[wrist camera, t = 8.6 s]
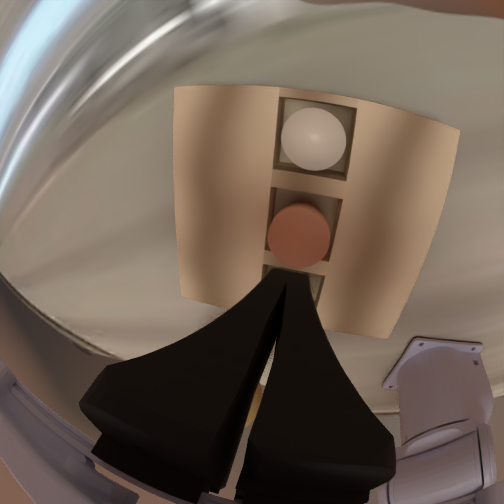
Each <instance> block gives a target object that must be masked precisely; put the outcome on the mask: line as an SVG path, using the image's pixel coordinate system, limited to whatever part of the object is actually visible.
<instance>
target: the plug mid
mask: <svg viewBox="0 0 504 504" xmlns="http://www.w3.org/2000/svg"><path fill="white" fill-rule="evenodd" d="M267 239H268V245H269V248H270V250H271V252H272V253H273V255H274V256H275V257H276V258H277V259H278V260H279V261H281V262H282V263H284V264H286V265H289V266H292V267H308V266H312V265H314V264H316V263H318V262H319V261H320V260H321V259H323V257H324V256H325V255H326V253H327V251H328V249H329V244H330V229H329V224H328V222H327V220H326V218H325V217H324V215H323V214H322V213H321V211H320V209H319V208H318V207H317V206H316V205H314V204H313V203H311V202H308V201H297V202H294V203H292V204H290V205H289V206H287V207H285V208H283V209H282V210H280V211H279V212H278V213H277V214H276V216H275V217H274V219H273V221H272V223H271V225H270V227H269V230H268V236H267Z"/></svg>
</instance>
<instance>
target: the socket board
mask: <svg viewBox="0 0 504 504" xmlns="http://www.w3.org/2000/svg"><path fill="white" fill-rule="evenodd" d="M305 108H319V109H323V110H325V111H327V112H329V113H331V114H332V115H334V116H335V117H336V118H337V119H338V120H339V121H340V123H341V124H342V126H343V128H344V131H345V135H346V147H345V150H344V153H343V155H342V157H341V158H340V159H339V161H338V162H337V163H335V164H334V165H333V166H331V167H329V168H327V169H324V170H318V171H313V170H307V169H304V168H301V167H299V166H297V165H296V164H294V163H293V162H292V161H291V160H290V159H289V158H288V156H287V155H286V153H285V152H284V149H283V147H282V142H281V133H282V129H283V126H284V124H285V122H286V121H287V119H288V118H289V117H290V116H291V115H292V114H294V113H295V112H297V111H299V110H302V109H305ZM459 134H460V130H457V129H455V128H452V127H450V126H447V125H445V124H442V123H439V122H437V121H434V120H431V119H428V118H425V117H422V116H419V115H416V114H413V113H410V112H407V111H403V110H400V109H396V108H393V107H389V106H385V105H382V104H378V103H373V102H369V101H365V100H360V99H356V98H351V97H346V96H340V95H335V94H329V93H323V92H316V91H309V90H301V89H292V88H281V87H269V86H250V85H199V86H181V87H175V90H174V121H173V170H174V202H175V221H176V237H177V251H178V263H179V273H180V283H181V293H182V297H184V298H188V299H191V300H195V301H199V302H203V303H207V304H210V305H214V306H218V307H222V308H227V309H230V308H231V307H233V306H234V305H235V304H236V303H238V302H239V301H240V300H241V299H242V298H244V297H245V296H246V295H247V294H248V293H249V292H250V291H251V290H252V289H253V288H254V287H255V286H256V285H257V284H258V283H259V282H260V281H261V280H262V279H263V278H264V277H265V276H266V274H267V273H268V272H269V271H270V270H271V269H273V268H276V269H280V268H281V267H282V268H287V269H293V270H298V271H303V272H308V273H309V274H310V283H311V284H312V286H313V289H314V297H313V300H314V303H315V307H316V310H317V313H318V316H319V319H320V321H321V324H322V327H323V329H326V330H332V331H338V332H344V333H350V334H356V335H362V336H369V337H376V338H383V339H388V337H389V336H390V334H391V332H392V330H393V328H394V326H395V324H396V322H397V320H398V318H399V317H400V315H401V313H402V311H403V308H404V306H405V304H406V302H407V300H408V298H409V296H410V294H411V292H412V289H413V287H414V285H415V283H416V280H417V278H418V276H419V273H420V271H421V268H422V266H423V263H424V261H425V258H426V256H427V253H428V251H429V248H430V245H431V242H432V240H433V237H434V234H435V231H436V228H437V225H438V222H439V219H440V215H441V212H442V209H443V205H444V202H445V198H446V195H447V191H448V187H449V183H450V179H451V175H452V171H453V166H454V161H455V157H456V151H457V146H458V140H459ZM297 201H308V202H311V203H313V204H314V205H316V206H317V207H318V208H319V209H320V211H321V213H322V214H323V215H324V217H325V218H326V220H327V222H328V224H329V229H330V244H329V249H328V251H327V253H326V255H325V256H324V257H323V259H321V260H320V261H319V262H318V263H316V264H314V265H312V266H308V267H292V266H289V265H286V264H284V263H282V262H281V261H279V260H278V259H277V258H276V257H275V256H274V255H273V253H272V252H271V250H270V248H269V245H268V239H267V236H268V230H269V227H270V225H271V223H272V221H273V219H274V217H275V216H276V214H277V213H278V212H279V211H280V210H282V209H283V208H285V207H287V206H289V205H290V204H292V203H294V202H297Z"/></svg>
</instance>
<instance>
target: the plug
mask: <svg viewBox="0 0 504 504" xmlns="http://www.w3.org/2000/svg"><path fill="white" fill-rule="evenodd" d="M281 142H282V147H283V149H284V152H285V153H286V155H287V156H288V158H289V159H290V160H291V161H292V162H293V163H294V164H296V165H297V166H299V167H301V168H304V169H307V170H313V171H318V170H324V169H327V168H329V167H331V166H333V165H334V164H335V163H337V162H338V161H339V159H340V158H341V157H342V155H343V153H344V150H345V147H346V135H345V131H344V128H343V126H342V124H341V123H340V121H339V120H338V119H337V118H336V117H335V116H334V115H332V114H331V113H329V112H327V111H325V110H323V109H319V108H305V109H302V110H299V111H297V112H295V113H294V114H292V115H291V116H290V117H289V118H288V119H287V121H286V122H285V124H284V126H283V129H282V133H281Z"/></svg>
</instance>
